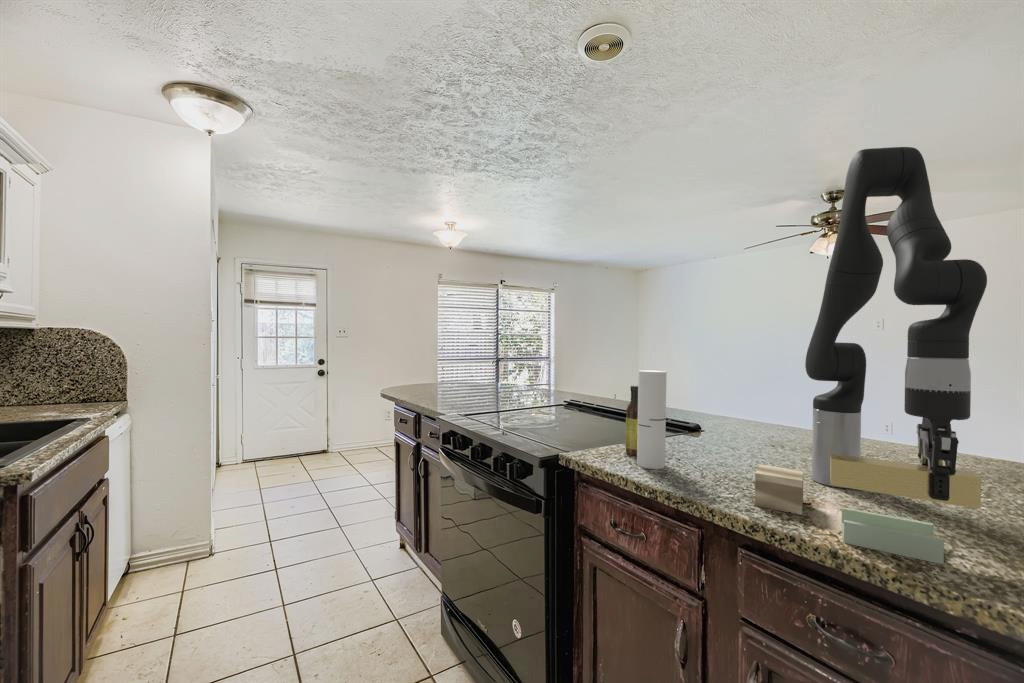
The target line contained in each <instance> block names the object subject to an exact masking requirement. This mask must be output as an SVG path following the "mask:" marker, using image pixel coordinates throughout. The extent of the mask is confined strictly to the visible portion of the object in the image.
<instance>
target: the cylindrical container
mask: <svg viewBox="0 0 1024 683" xmlns="http://www.w3.org/2000/svg"><path fill="white" fill-rule="evenodd" d="M637 372H638V375H637V376H638V378H637V380H638V381H637V386H638V431H637V456H636V465H637V466H639V467H641V468H644V469H649V470H650V469H652V470H658V469H659V470H661V469H664V468H665V467H666V432H667V431H666V430H667V428H666V424H667V419H666V417H667V376H668V374H667V371H665V370H655V369H654V370H652V369H643V370H640V369H639V370H638V371H637Z"/></svg>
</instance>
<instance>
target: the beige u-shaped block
mask: <svg viewBox="0 0 1024 683" xmlns="http://www.w3.org/2000/svg"><path fill="white" fill-rule="evenodd" d="M754 475H755V476H754V484H755V485H754V506H755V507H759V508H766V509H769V508H770V509H771V510H774V511H779V510H780V512H786V513H789V512H791V514H795V513H796V514H795V515H801V516H802V515H803V504H804V470H802V469H795V468H794V469H793V468H788V467H779V466H774V465H767V464H761V463H759V464H758V466H757V469H756V470H755V473H754ZM770 509H769V510H770Z"/></svg>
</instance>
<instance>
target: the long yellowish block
mask: <svg viewBox="0 0 1024 683" xmlns="http://www.w3.org/2000/svg"><path fill="white" fill-rule="evenodd" d="M955 470H956V473H955V475H952V476H951V477H950V486H949V500H948V501H943V500H936V499H932V498H931V497H930V496H929V472H928V466H926V465H921V464H917V463H916V464H915V463H909V462H901V461H894V460H884V459H877V458H869V457H862V456H860V457H854V456H846V455H838V454H830V482H831V485H833V486H839V487H838V488H840V487H846V488H845V489H854V490H860V491H866V492H870V493H871V492H873V493H878V494H883V495H884V494H885V495H889V496H891V495H892V496H898V497H902V498H903V497H904V498H910V499H916V500H917V499H918V500H923V501H929V502H936V503H941V504H948V505H955V506H960V507H966V508H972V509H973V508H974V509H979V510H981V507H982V503H981V502H982V478H981V477H980V476H979V475H978V474H976V473H975V472H974V471H971V470H966V469H964V470H963V469H956V468H955ZM833 486H832V487H833Z"/></svg>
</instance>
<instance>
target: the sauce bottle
mask: <svg viewBox="0 0 1024 683" xmlns="http://www.w3.org/2000/svg"><path fill="white" fill-rule="evenodd" d="M625 414H626V417H625V440H624V441H625V443H624V444H625V445H624V446H625V453H626V454H627V455H629V456H634V457H637V431H638V385H630V401H629V404H628V405H627V407H626V412H625Z"/></svg>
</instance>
